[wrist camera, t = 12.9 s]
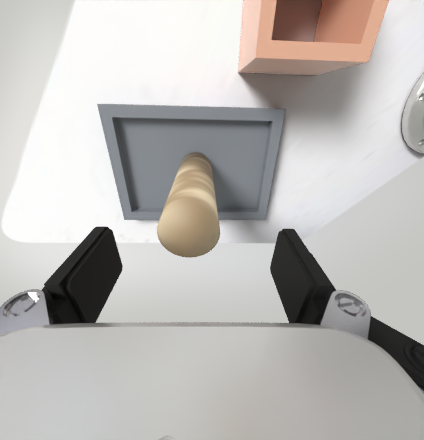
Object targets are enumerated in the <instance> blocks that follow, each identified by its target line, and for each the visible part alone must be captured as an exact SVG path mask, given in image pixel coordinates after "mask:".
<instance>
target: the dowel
mask: <svg viewBox="0 0 424 440" xmlns="http://www.w3.org/2000/svg"><path fill="white" fill-rule="evenodd" d="M157 235H158V238H159V241H160V242H161V244H162V245H163V246H164V247H165V248H166V249H167V250H168V251H170V252H171V253H173V254H175V255H178V256H182V257H197V256H201V255H204V254H206V253H208V252H209V251H210V250H212V249H213V248H214V247H215V245H216V244H217V242H218V240H219V236H220V227H219V220H218V212H217V205H216V197H215V190H214V182H213V174H212V167H211V163H210V160H209V159H208V158H207V157H206V156H205V155H204V154H202V153H199V152H192V153H189V154H187V155H186V156H185V157H184V158H183V160H182V162H181V164H180V167H179V170H178V172H177V175H176V178H175V180H174V183H173V186H172V188H171V191H170V193H169V196H168V199H167V201H166V204H165V207H164V209H163V212H162V215H161V217H160V220H159V223H158V226H157Z"/></svg>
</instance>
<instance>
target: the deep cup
mask: <svg viewBox="0 0 424 440" xmlns="http://www.w3.org/2000/svg"><path fill="white" fill-rule="evenodd" d="M276 2H277V0H243V12H242V26H241V39H240V53H239V67H238V72H239V73H267V74H296V75H318V74H322V73H326V72H330V71H334V70H339V69H343V68H347V67H351V66H355V65H359V64H363V63H367V62H368V61H369V58H370V56H371V53H372V50H373V47H374V44H375V41H376V38H377V35H378V32H379V29H380V26H381V23H382V20H383V17H384V14H385V11H386V8H387V5H388V2H389V0H322V5H321V9H320V14H319V19H318V23H317V28H316V33H315V37H314V42H304V41H281V40H271V39H272V32H273V25H274V17H275V10H276Z"/></svg>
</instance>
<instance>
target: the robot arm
mask: <svg viewBox="0 0 424 440" xmlns="http://www.w3.org/2000/svg"><path fill="white" fill-rule="evenodd" d="M402 133H403V137H404V140H405V141H406V143H407V145H408V146H409V147H410V148H412V149H413V150H414V151H417V152H419V153H423V154H424V73H423V74H422V75H421V77H420V79H419V80H418V82H417V83H416V85H415V86H414V88H413V90H412V92H411V94H410V96H409V98H408V100H407V103H406V106H405V109H404V112H403V118H402ZM270 269H271V274H272V277H273V279H274V282H275V285H276V288H277V290H278V293H279V295H280V299H281V301H282V304H283V307H284V310H285V312H286V315H287V317H288V321H289V323H219V322H217V323H215V322H214V323H213V322H211V323H208V322H207V323H206V322H205V323H204V322H202V323H201V322H200V323H197V322H194V323H188V322H187V323H186V322H182V323H181V322H178V323H176V322H175V323H95V322H96V320H97V318H98V317H99V315H100V312H101V311H102V308H103V307H104V305H105V303H106V301H107V299H108V297H109V295H110V293H111V291H112V289H113V287H114V285H115V283H116V281H117V279H118V277H119V275H120V273H121V271H122V263H121V259H120V256H119V252H118V249H117V246H116V242H115V238H114V235H113V232H112V230H111V229H109V228H108V227H95V228H94V229H93V230H92V231H91V232H90V234H89V235H88V236H87V237H86V238H85V239H84V240H83V241H82V243H81V244H80V245H79V246H78V247H77V248H76V249H75V250H74V251H73V253H72V254H71V255H70V256H69V257H68V258H67V259H66V260H65V262H64V263H63V264H62V265H61V266H60V267H59V268H58V269H57V270H56V271H55V273H54V274H53V275H52V276H51V277H50V278H49V279H48V280H47V282H46V283H45V284H44V285H45V287H44V288H43V289H42V290H38V289H32V290H27V291H24V292H21V293H19V294H17V295H15V296H13V297H12V298H10V299H9V300H7V301H6V302H5V303H4V304H3V305H2V306H1V307H0V440H424V345H422V344H420V343H418V342H417V341H415V340H413V339H411V338H409V337H408V336H406V335H404V334H402V333H400V332H398V331H397V330H395V329H393V328H391V327H390V326H388V325H386V324H384V323H382V322H381V321H379V320H377V319H375V318H373V317H372V316H371V312H370V309H369V307H368V305H367V304H366V303H365V302H364V301H363V300H362V299H361V298H360V297H358V296H356V295H355V294H353V293H350V292H348V291H343V290H337V291H336V289H335V288H334V286H333V285H332V283H331V282H330V280H329V279H328V277H327V276H326V274H325V273H324V272H323V270H322V268H321V267H320V266H319V264H318V263H317V261H316V260H315V258H314V257H313V255H312V254H311V253H310V252H309V251H308V249H307V248H306V246H305V245H304V243H303V242H302V240H301V239H300V237H299V236H298V234H297V233H296V231H295V230H294V229H283V230H282V231H280V232H279V233H278V237H277V241H276V246H275V250H274V254H273V258H272V262H271V267H270Z"/></svg>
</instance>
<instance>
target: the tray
mask: <svg viewBox="0 0 424 440" xmlns="http://www.w3.org/2000/svg"><path fill="white" fill-rule="evenodd" d="M97 105H98V109H99V114H100V118H101V122H102V126H103V131H104V135H105V139H106V143H107V148H108V152H109V156H110V160H111V165H112V169H113V173H114V177H115V182H116V186H117V190H118V194H119V199H120V203H121V207H122V211H123V216H124V220H160V217H161V215H162V212H163V209H164V207H165V204H166V201H167V199H168V196H169V193H170V191H171V188H172V186H173V183H174V180H175V178H176V175H177V172H178V170H179V167H180V164H181V162H182V160H183V158H184V157H185V156H186V155H187V154H189V153H192V152H199V153H202V154H204V155H205V156H206V157H207V158H208V159H209V160H210V163H211V167H212V174H213V182H214V190H215V197H216V205H217V212H218V220H265V217H266V212H267V207H268V201H269V196H270V191H271V185H272V180H273V175H274V169H275V164H276V158H277V153H278V148H279V142H280V137H281V132H282V126H283V121H284V116H285V110H286V109H277V108H240V107H202V106H164V105H126V104H97Z"/></svg>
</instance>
